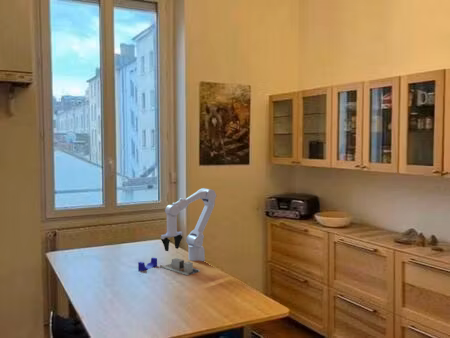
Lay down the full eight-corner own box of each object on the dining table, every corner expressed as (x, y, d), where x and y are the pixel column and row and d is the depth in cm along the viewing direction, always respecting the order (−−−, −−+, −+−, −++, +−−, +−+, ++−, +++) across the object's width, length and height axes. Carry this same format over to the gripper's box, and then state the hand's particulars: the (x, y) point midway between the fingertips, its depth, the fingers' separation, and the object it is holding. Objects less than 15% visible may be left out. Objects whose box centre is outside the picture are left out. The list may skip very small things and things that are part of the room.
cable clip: (151, 267, 264) (150, 257, 263) (157, 268, 261) (157, 258, 261) (136, 272, 253) (136, 262, 253) (142, 274, 251) (142, 263, 251)
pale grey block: (176, 266, 259) (176, 258, 258) (184, 269, 254) (184, 260, 254) (171, 268, 256) (171, 259, 256) (179, 270, 252) (179, 261, 252)
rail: (173, 266, 266) (173, 261, 266) (200, 274, 251) (200, 269, 251) (159, 269, 258) (159, 265, 258) (186, 278, 244) (186, 273, 243)
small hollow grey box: (188, 270, 252) (188, 261, 252) (192, 271, 250) (192, 262, 250) (183, 272, 250) (183, 262, 249) (187, 273, 248) (187, 264, 247)
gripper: (176, 223, 273) (176, 246, 274) (157, 226, 262) (157, 250, 263) (184, 225, 268) (184, 248, 269) (165, 228, 257) (165, 252, 258)
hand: (171, 249), depth 266 cm, fingers open, 7 cm apart
